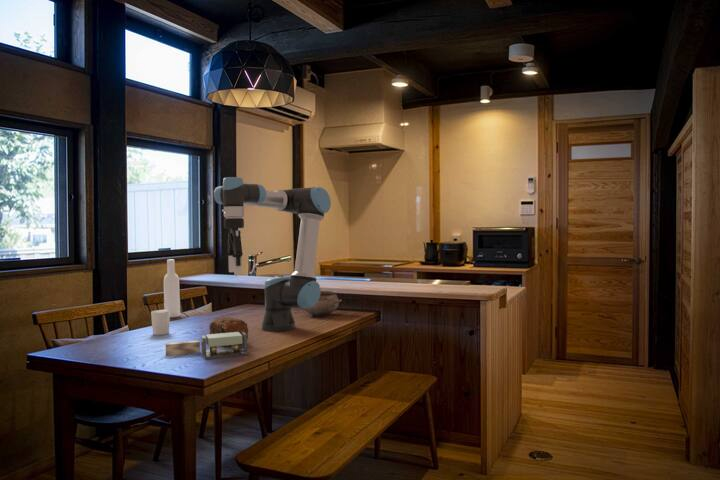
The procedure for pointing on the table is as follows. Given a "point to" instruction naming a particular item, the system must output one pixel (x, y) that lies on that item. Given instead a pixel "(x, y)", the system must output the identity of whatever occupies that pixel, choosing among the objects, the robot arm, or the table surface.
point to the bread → (228, 326)
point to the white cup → (160, 321)
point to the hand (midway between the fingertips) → (235, 273)
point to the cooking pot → (324, 304)
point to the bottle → (171, 290)
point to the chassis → (225, 349)
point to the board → (223, 339)
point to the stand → (182, 347)
